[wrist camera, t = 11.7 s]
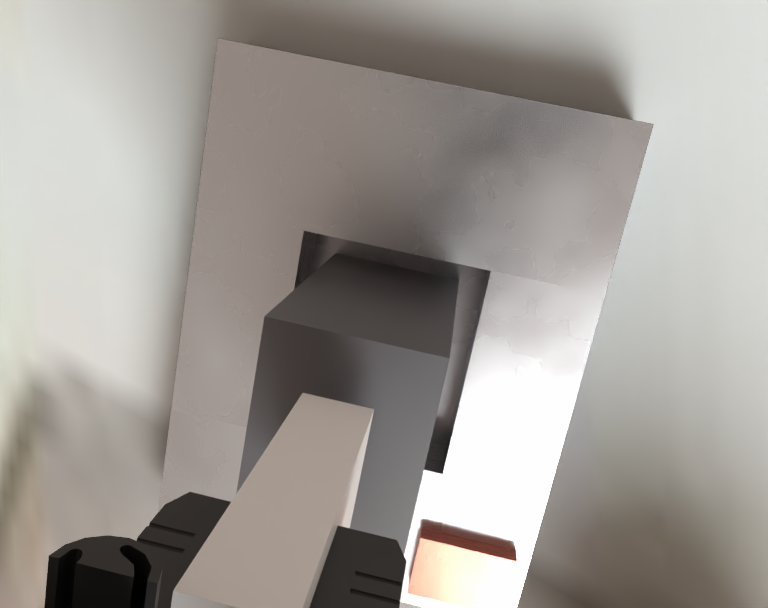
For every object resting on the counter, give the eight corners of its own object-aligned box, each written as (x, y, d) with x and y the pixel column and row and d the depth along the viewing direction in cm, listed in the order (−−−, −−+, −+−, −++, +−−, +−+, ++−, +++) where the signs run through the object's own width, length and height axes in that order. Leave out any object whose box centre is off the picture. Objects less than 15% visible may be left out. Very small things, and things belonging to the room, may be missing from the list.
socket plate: (244, 47, 22) (209, 35, 19) (634, 124, 21) (659, 123, 18) (182, 503, 26) (146, 550, 23) (507, 583, 25) (511, 642, 23)
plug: (335, 253, 23) (264, 316, 15) (459, 279, 23) (449, 358, 15) (309, 396, 24) (231, 521, 17) (426, 423, 24) (401, 564, 16)
